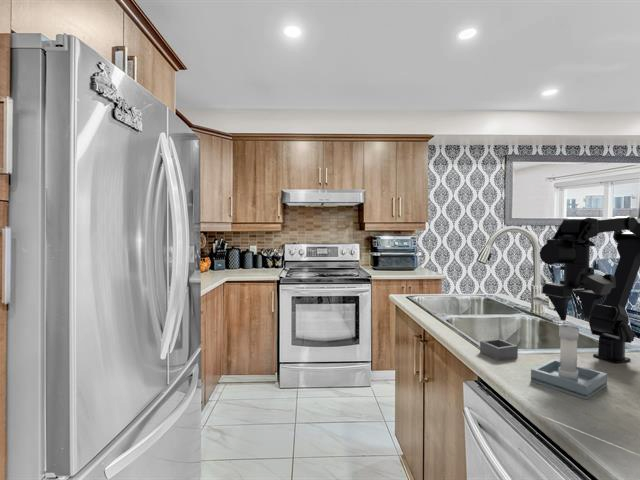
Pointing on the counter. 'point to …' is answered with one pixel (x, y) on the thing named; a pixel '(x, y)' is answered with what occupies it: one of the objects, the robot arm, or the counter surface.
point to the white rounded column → (568, 352)
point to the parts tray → (583, 388)
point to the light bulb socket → (499, 349)
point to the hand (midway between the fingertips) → (575, 318)
